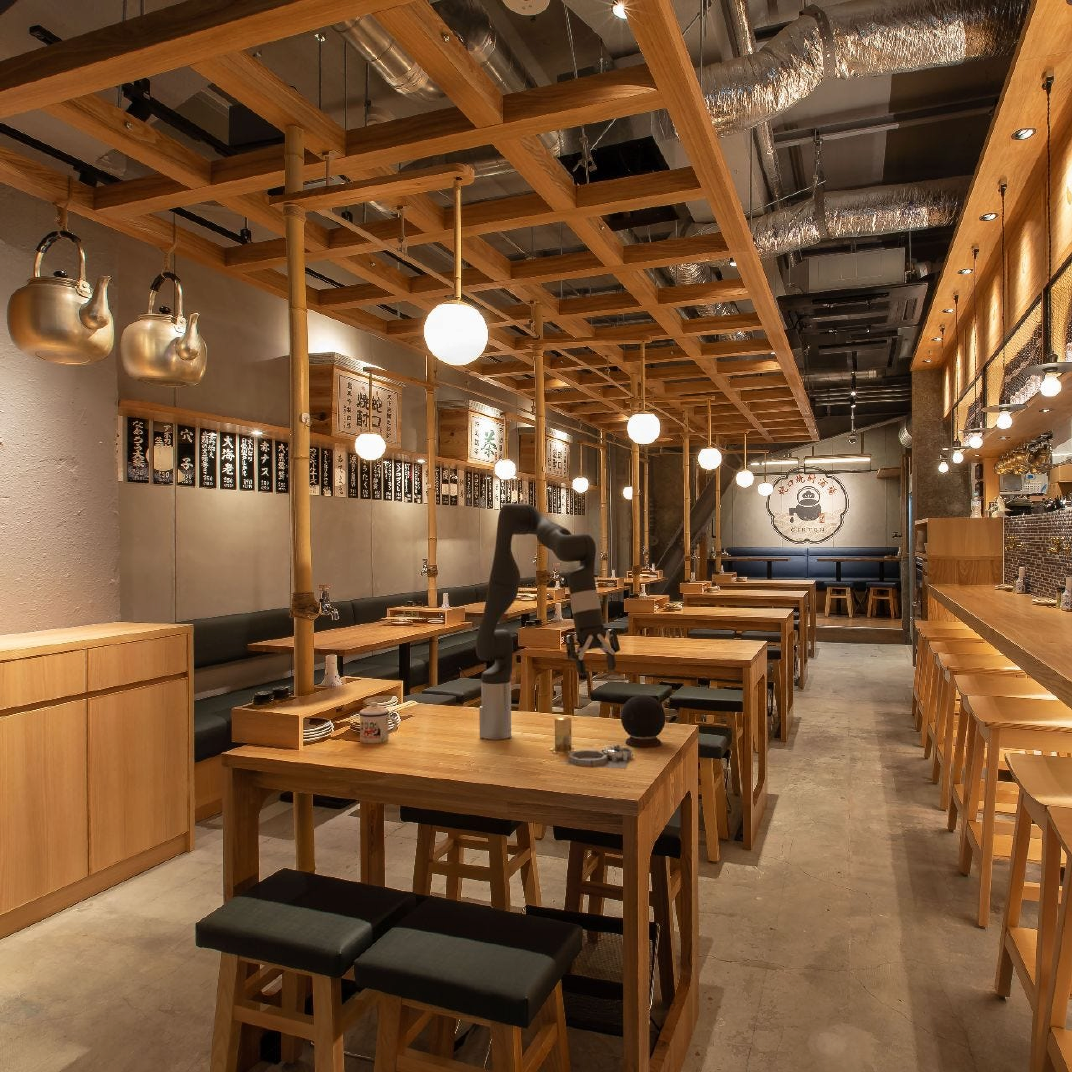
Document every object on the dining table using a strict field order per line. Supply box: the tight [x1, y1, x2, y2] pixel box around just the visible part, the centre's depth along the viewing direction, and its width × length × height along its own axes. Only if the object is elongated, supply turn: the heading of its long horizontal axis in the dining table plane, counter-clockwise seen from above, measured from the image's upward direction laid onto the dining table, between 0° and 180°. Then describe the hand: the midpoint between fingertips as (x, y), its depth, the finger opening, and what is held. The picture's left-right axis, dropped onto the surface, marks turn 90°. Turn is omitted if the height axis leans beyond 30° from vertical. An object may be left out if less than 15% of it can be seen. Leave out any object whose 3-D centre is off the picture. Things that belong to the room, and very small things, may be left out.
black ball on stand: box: [620, 694, 667, 749], centre depth 227 cm, size 13×13×15 cm
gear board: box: [565, 749, 634, 770], centre depth 210 cm, size 16×14×2 cm
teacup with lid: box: [358, 701, 398, 744], centre depth 237 cm, size 12×9×12 cm
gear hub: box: [549, 716, 578, 756], centre depth 219 cm, size 8×7×10 cm
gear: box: [601, 744, 633, 761], centre depth 212 cm, size 8×8×3 cm
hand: (597, 672), depth 195 cm, fingers open, 8 cm apart
